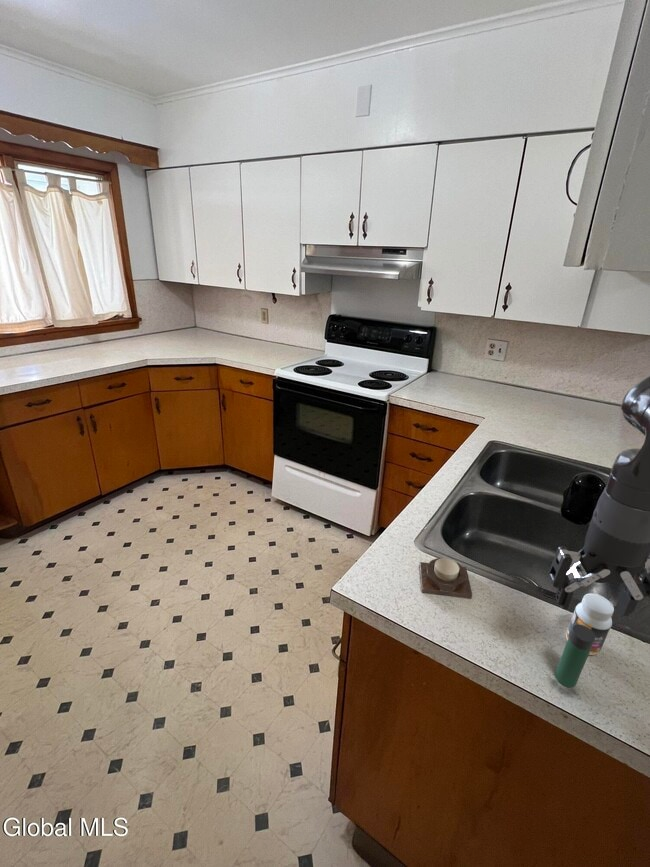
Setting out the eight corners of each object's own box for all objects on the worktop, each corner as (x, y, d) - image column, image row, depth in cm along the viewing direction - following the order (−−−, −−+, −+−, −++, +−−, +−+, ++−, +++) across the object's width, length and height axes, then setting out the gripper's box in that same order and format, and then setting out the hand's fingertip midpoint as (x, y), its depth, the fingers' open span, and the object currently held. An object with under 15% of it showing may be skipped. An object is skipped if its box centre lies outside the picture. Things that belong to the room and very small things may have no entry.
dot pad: (456, 565, 92) (457, 559, 91) (459, 582, 87) (461, 576, 87) (432, 563, 92) (433, 556, 92) (434, 579, 88) (436, 573, 87)
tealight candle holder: (465, 571, 94) (467, 560, 93) (471, 599, 87) (473, 588, 85) (419, 565, 95) (421, 555, 94) (421, 593, 88) (423, 582, 87)
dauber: (571, 670, 73) (590, 625, 68) (579, 688, 70) (599, 642, 65) (552, 668, 73) (569, 623, 68) (558, 686, 70) (577, 640, 66)
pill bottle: (565, 649, 77) (580, 609, 72) (564, 625, 81) (578, 586, 77) (601, 661, 74) (619, 621, 70) (598, 636, 79) (615, 597, 75)
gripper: (579, 535, 56) (550, 622, 63) (699, 547, 54) (655, 635, 61) (560, 502, 62) (535, 584, 70) (666, 511, 61) (629, 595, 68)
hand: (591, 608), depth 65 cm, fingers open, 8 cm apart
